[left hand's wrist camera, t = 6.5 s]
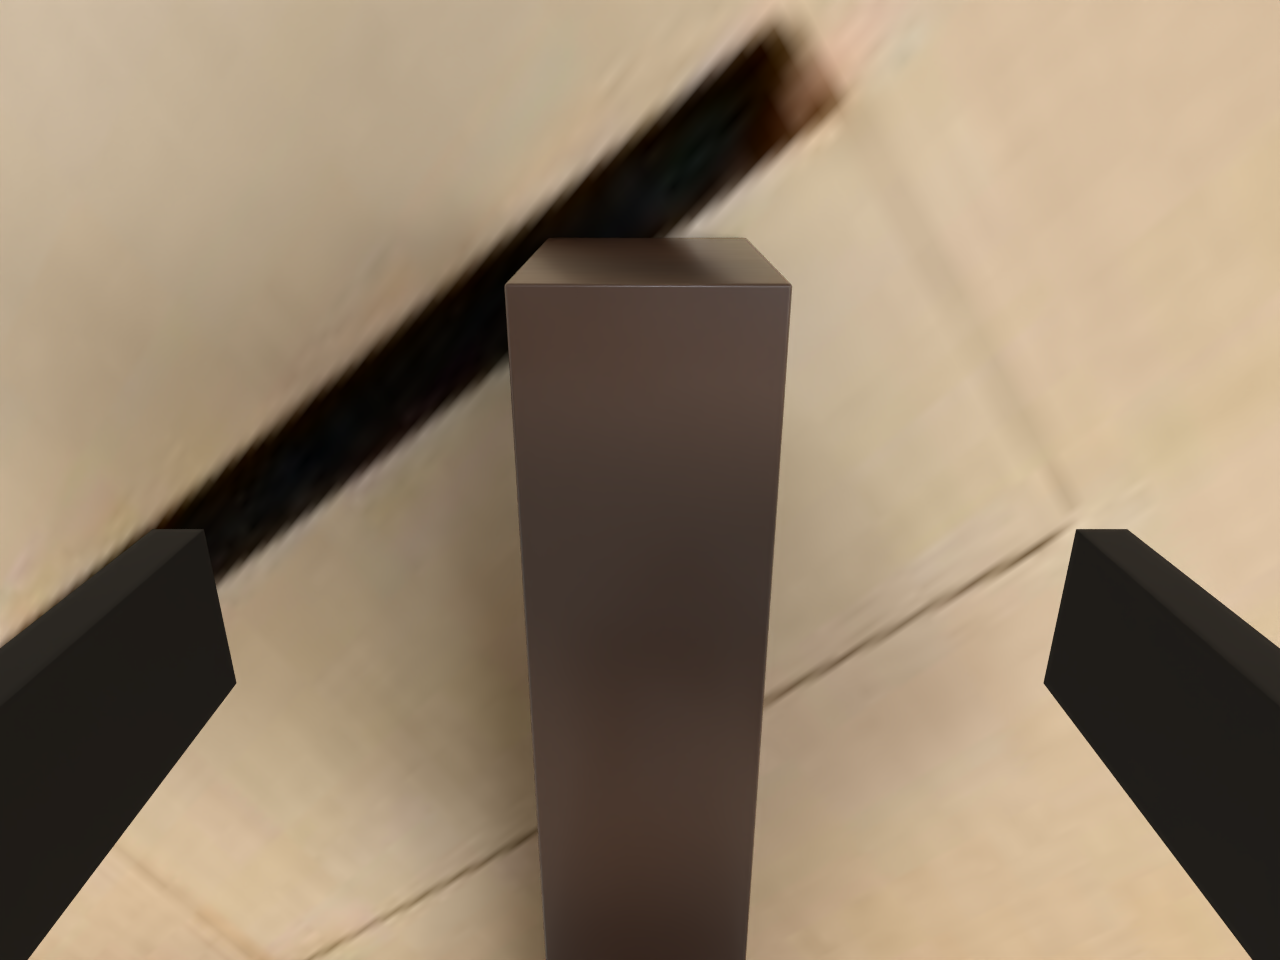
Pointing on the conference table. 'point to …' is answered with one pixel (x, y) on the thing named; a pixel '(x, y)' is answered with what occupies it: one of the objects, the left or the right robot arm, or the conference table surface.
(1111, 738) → the left robot arm
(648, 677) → the plank
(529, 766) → the conference table surface
